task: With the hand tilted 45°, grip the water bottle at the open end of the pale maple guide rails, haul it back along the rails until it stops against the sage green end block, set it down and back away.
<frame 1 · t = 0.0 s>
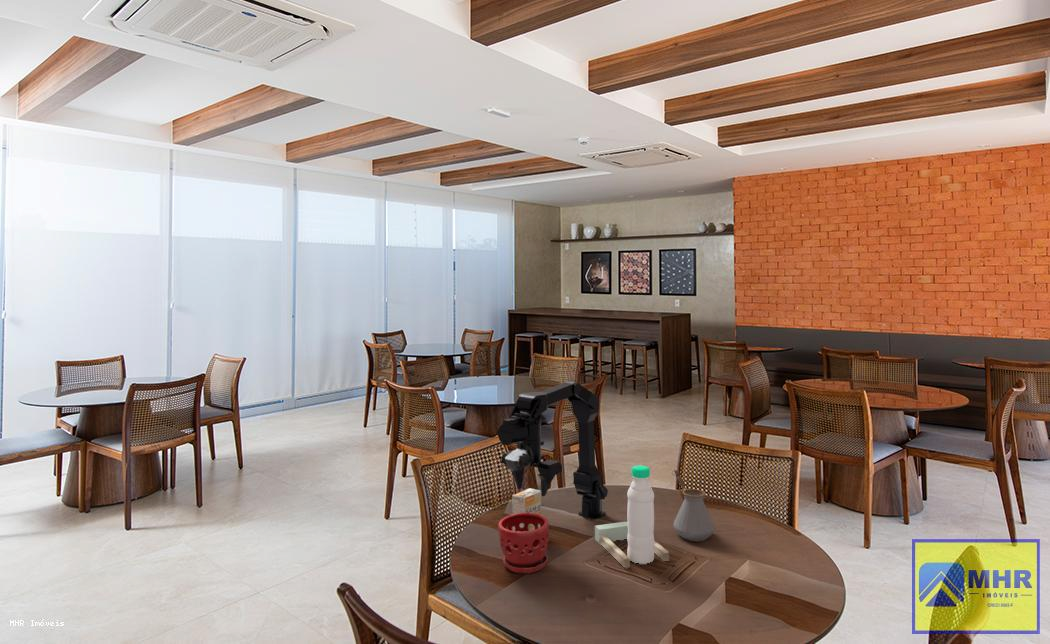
hand: (531, 492, 170), 15 cm above the table, tool pointing down, fingers open, 9 cm apart
supplement box: (527, 537, 175), on the table
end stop: (617, 538, 173), on the table
guide rails: (632, 552, 164), on the table
water bottle: (640, 560, 159), on the table
plant pot: (524, 566, 157), on the table
coffee pot: (687, 529, 179), on the table
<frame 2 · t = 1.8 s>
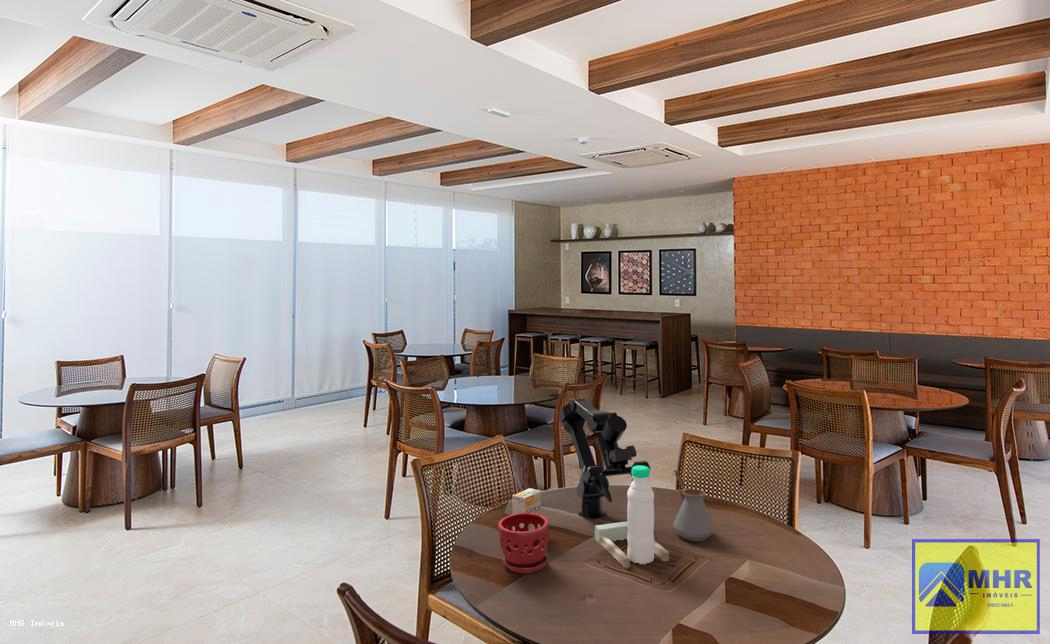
hand: (626, 499, 166), 13 cm above the table, tool tilted 45°, fingers open, 9 cm apart
nothing on the table moved.
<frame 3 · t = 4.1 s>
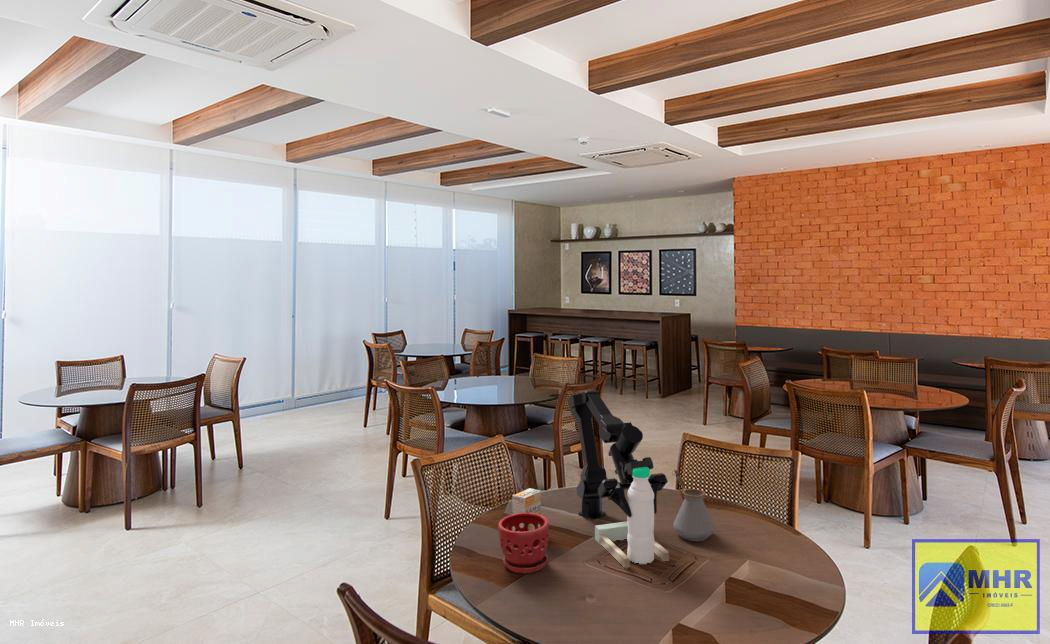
hand: (643, 514, 157), 13 cm above the table, tool tilted 45°, fingers closed on water bottle, 7 cm apart
water bottle: (640, 560, 159), on the table, touching gripper
everything else where it was.
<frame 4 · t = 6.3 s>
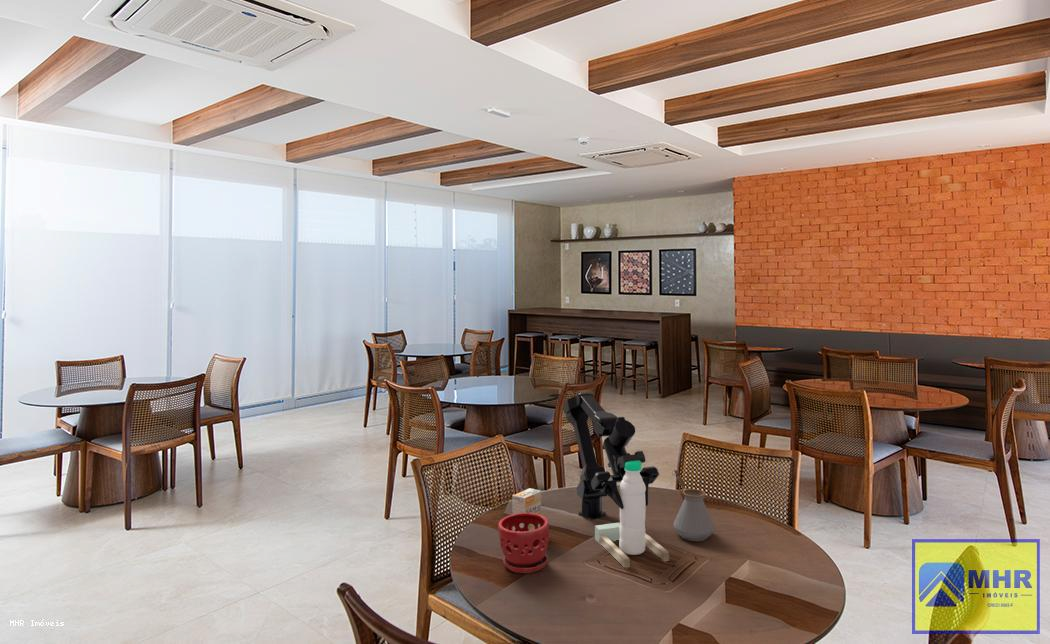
hand: (634, 506, 162), 13 cm above the table, tool tilted 45°, fingers closed on water bottle, 7 cm apart
water bottle: (632, 550, 164), on the table, touching gripper
everything else where it was.
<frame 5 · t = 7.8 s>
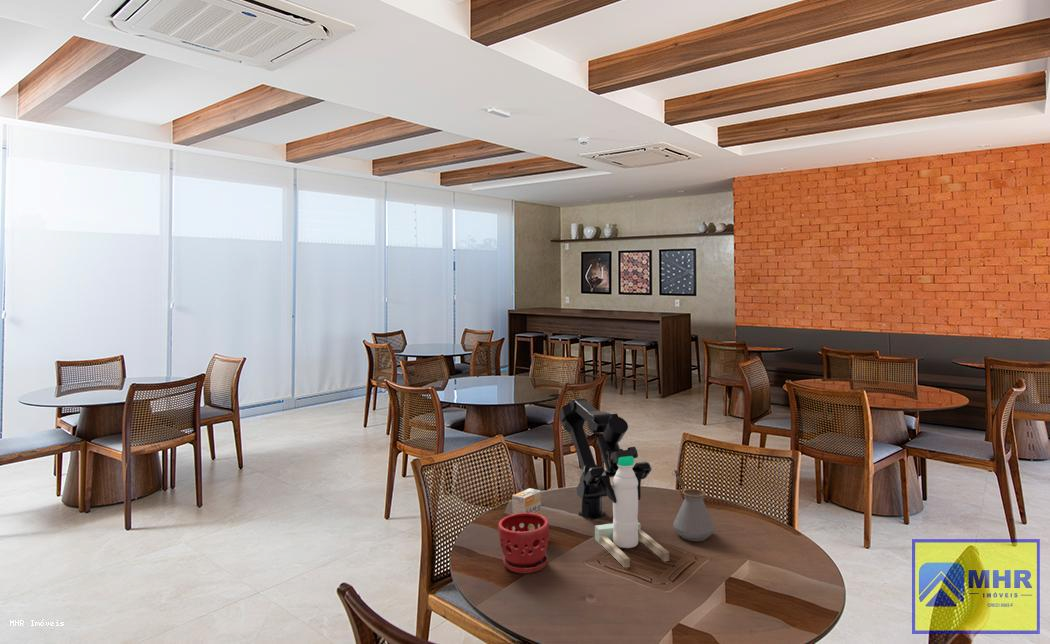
hand: (627, 501, 166), 13 cm above the table, tool tilted 45°, fingers closed on water bottle, 7 cm apart
water bottle: (625, 544, 168), on the table, touching gripper
everything else where it was.
when the fingers open (13 cm above the table, at t = 8.5 s): water bottle stays where it is, on the table.
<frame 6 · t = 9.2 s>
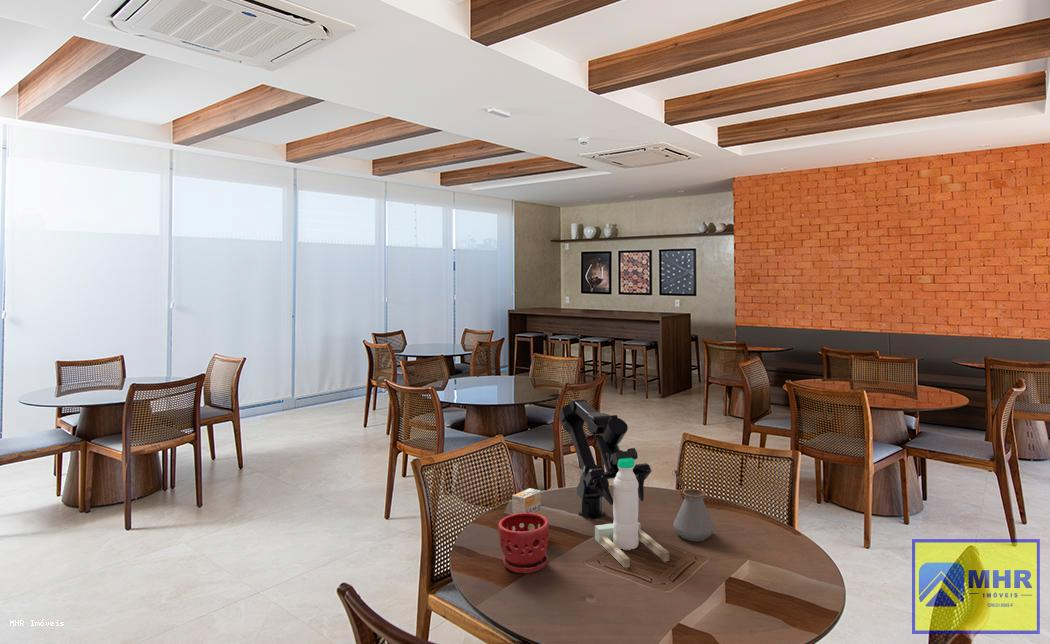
hand: (627, 502, 166), 13 cm above the table, tool tilted 45°, fingers open, 9 cm apart
water bottle: (625, 546, 168), on the table
everything else where it was.
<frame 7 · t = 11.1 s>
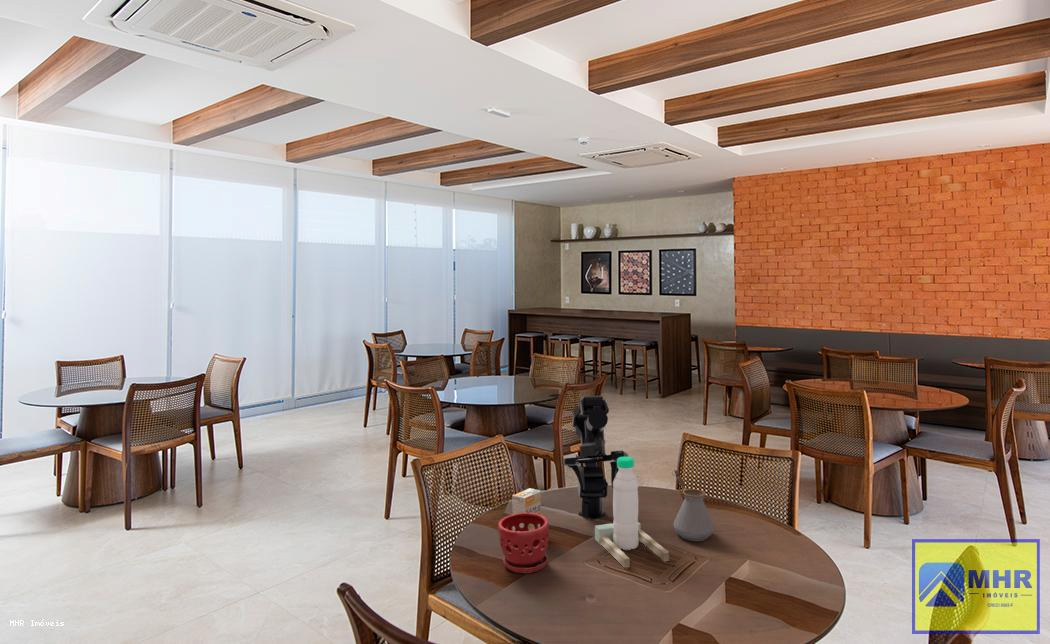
hand: (597, 488, 176), 13 cm above the table, tool tilted 25°, fingers open, 9 cm apart
nothing on the table moved.
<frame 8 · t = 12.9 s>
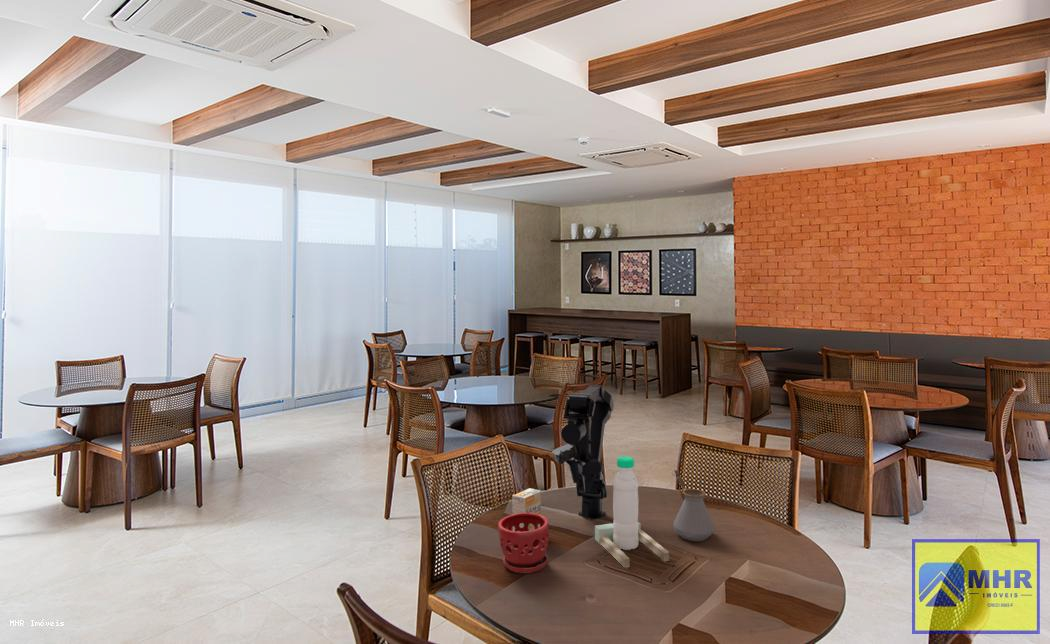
hand: (580, 487, 178), 13 cm above the table, tool pointing down, fingers open, 9 cm apart
nothing on the table moved.
at the end: water bottle 5.1 cm from the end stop (horizontally); water bottle tilted 0°; the gripper is holding nothing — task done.
